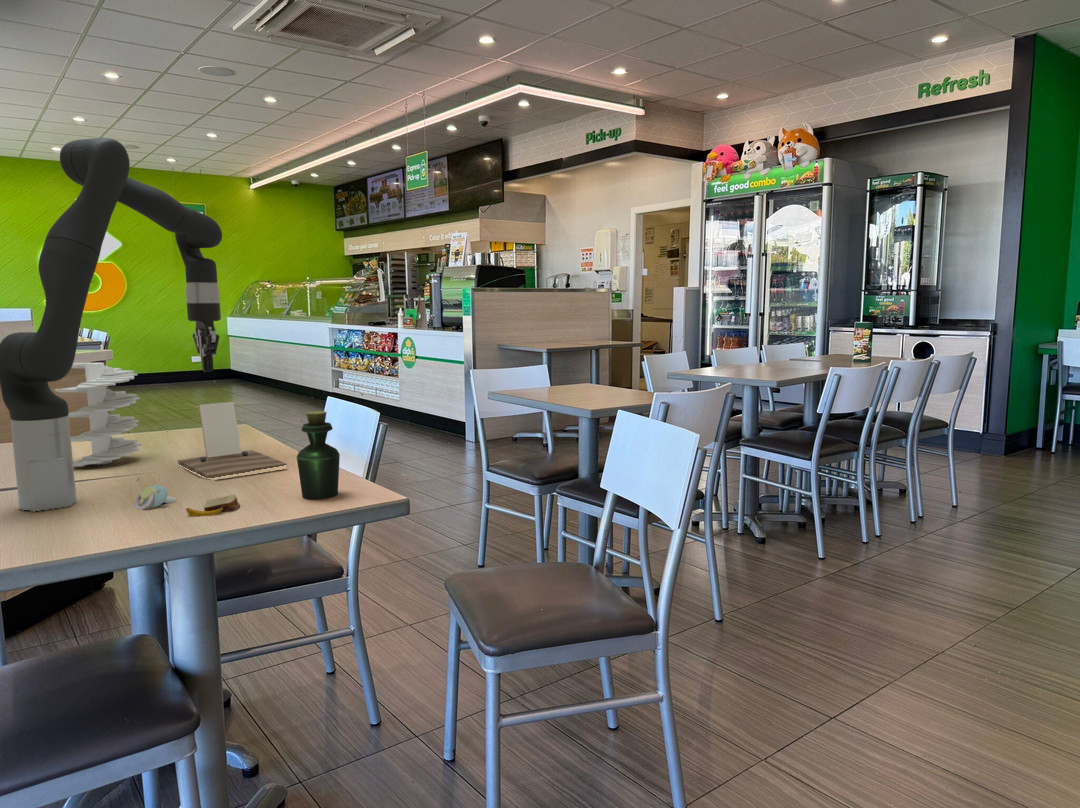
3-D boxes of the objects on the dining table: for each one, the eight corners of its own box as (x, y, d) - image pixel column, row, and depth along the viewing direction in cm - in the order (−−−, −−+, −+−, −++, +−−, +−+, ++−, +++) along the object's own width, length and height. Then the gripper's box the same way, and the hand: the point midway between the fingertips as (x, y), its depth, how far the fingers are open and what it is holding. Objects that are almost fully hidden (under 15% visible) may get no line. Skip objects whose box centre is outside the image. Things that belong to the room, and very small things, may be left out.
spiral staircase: (155, 461, 185) (147, 362, 181) (76, 474, 172) (66, 367, 168) (127, 452, 197) (120, 359, 193) (51, 463, 184) (41, 363, 180)
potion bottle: (320, 495, 151) (316, 408, 149) (350, 500, 148) (346, 411, 145) (290, 504, 144) (285, 413, 142) (320, 509, 140) (316, 416, 138)
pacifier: (126, 505, 140) (146, 478, 143) (154, 521, 144) (173, 494, 147) (141, 512, 136) (161, 484, 138) (169, 528, 140) (188, 500, 142)
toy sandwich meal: (189, 512, 140) (188, 494, 140) (245, 510, 142) (244, 492, 141) (173, 527, 131) (171, 508, 130) (233, 524, 133) (232, 505, 132)
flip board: (287, 469, 175) (286, 458, 175) (208, 482, 163) (207, 470, 163) (252, 455, 191) (251, 445, 191) (178, 466, 180) (177, 455, 179)
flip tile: (240, 453, 184) (241, 453, 183) (206, 457, 178) (207, 457, 178) (232, 402, 184) (233, 401, 184) (198, 405, 179) (199, 404, 178)
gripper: (228, 301, 179) (232, 372, 181) (210, 301, 189) (214, 369, 191) (195, 301, 174) (200, 374, 176) (178, 301, 184) (184, 370, 186)
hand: (208, 371), depth 184 cm, fingers closed
